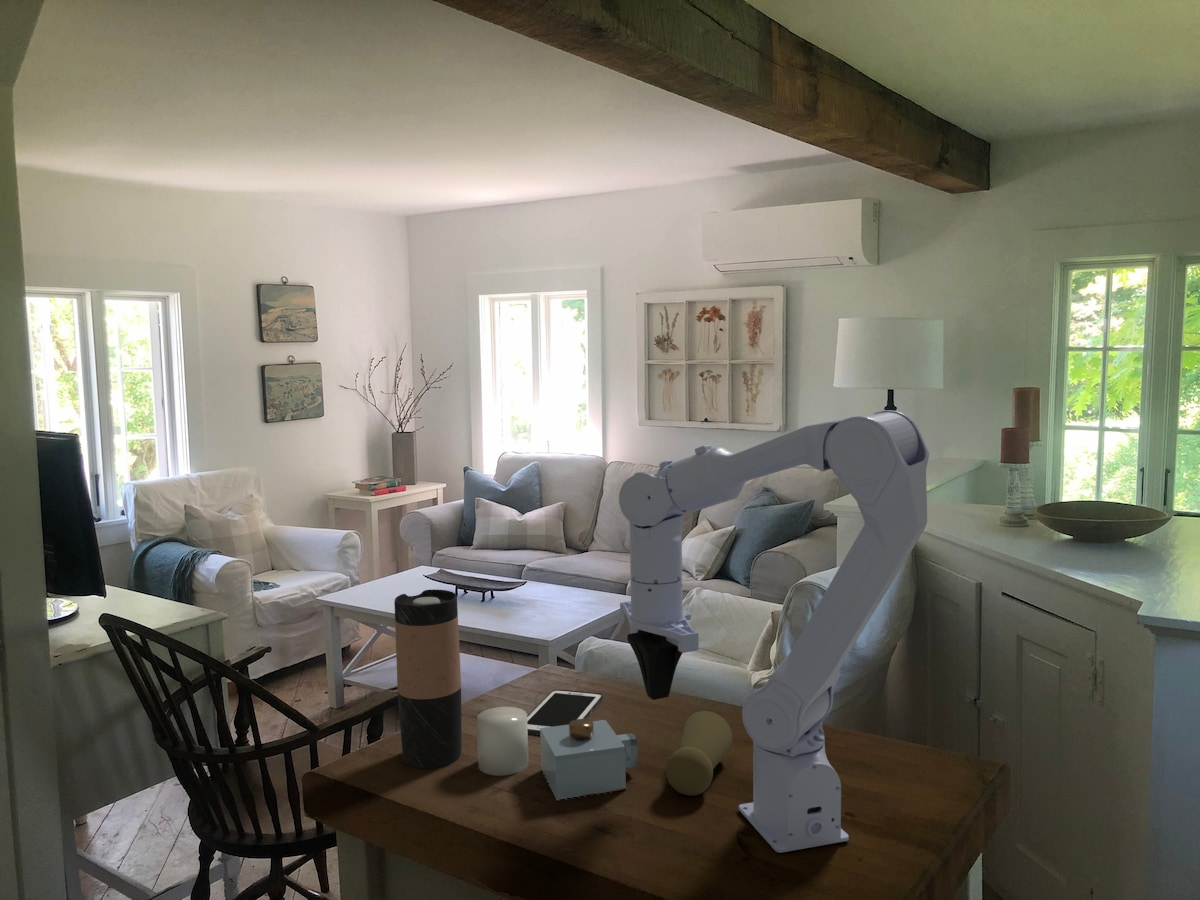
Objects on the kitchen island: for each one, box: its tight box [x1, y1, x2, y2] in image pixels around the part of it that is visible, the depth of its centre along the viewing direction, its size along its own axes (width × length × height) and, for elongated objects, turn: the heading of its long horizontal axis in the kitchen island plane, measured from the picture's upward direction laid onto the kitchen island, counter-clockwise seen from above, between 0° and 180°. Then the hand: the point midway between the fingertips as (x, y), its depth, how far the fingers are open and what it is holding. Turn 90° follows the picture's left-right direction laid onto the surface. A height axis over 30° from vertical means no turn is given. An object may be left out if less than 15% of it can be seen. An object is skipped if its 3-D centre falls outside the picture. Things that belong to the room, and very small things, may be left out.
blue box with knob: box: [539, 719, 638, 802], centre depth 107 cm, size 8×10×5 cm
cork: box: [665, 710, 733, 797], centre depth 107 cm, size 6×6×11 cm
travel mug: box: [394, 589, 462, 769], centre depth 113 cm, size 8×8×20 cm
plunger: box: [569, 718, 594, 740], centre depth 107 cm, size 3×3×6 cm
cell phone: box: [527, 688, 604, 736], centre depth 127 cm, size 8×15×1 cm, turn 162°
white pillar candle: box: [476, 706, 529, 777], centre depth 112 cm, size 6×6×6 cm
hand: (658, 696), depth 104 cm, fingers closed
